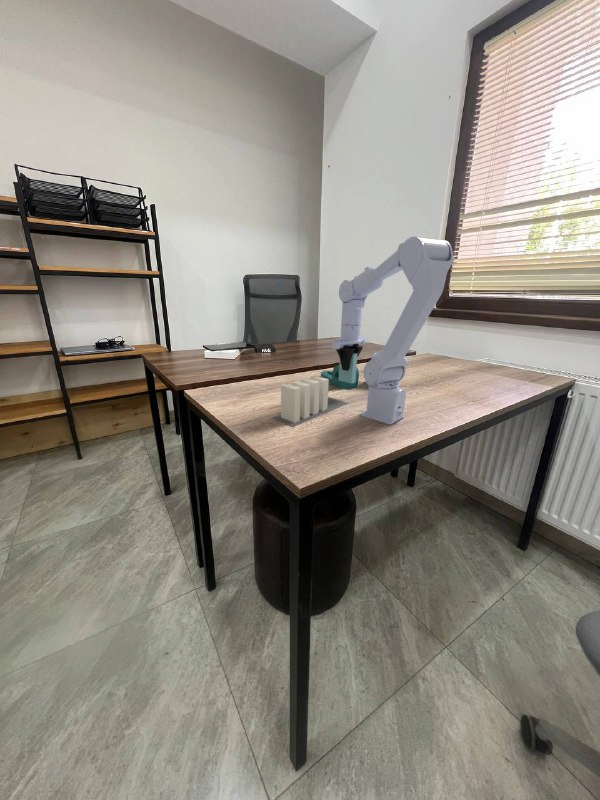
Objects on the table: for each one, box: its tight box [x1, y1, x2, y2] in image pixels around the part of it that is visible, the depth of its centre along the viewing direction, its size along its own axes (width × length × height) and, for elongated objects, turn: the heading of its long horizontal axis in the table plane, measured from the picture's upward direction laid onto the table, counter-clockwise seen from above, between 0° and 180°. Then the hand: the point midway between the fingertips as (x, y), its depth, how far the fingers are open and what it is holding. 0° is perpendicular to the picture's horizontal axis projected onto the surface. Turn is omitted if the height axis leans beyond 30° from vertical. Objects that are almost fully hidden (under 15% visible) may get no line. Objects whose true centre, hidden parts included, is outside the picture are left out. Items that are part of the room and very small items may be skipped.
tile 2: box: [309, 375, 330, 411], centre depth 87 cm, size 5×2×9 cm, turn 46°
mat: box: [271, 396, 349, 428], centre depth 87 cm, size 8×24×1 cm, turn 136°
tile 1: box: [338, 353, 358, 384], centre depth 95 cm, size 5×2×9 cm, turn 46°
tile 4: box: [290, 380, 310, 419], centre depth 82 cm, size 5×2×9 cm, turn 46°
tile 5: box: [280, 383, 300, 423], centre depth 79 cm, size 5×2×9 cm, turn 46°
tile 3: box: [300, 377, 320, 415], centre depth 85 cm, size 5×2×9 cm, turn 46°
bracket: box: [320, 365, 360, 390], centre depth 114 cm, size 18×7×8 cm, turn 24°
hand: (347, 369), depth 95 cm, fingers closed on tile 1, 2 cm apart
